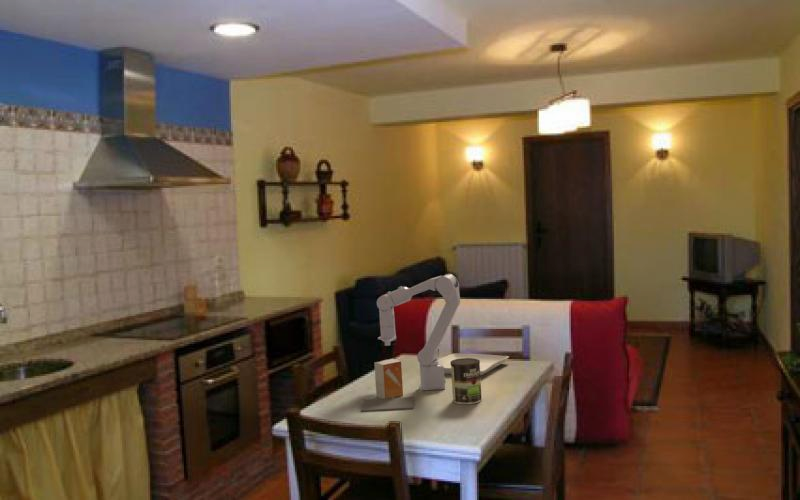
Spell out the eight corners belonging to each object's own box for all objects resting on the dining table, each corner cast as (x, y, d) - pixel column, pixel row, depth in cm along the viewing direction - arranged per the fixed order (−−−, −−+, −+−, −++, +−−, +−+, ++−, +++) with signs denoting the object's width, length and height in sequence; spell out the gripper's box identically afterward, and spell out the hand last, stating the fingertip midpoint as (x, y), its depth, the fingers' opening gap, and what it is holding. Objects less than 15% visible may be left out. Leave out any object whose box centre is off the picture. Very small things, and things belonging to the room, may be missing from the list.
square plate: (510, 364, 306) (510, 355, 306) (483, 380, 282) (483, 370, 282) (453, 360, 320) (452, 351, 320) (423, 375, 296) (422, 366, 296)
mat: (413, 398, 262) (413, 396, 262) (413, 409, 249) (412, 407, 249) (364, 401, 262) (364, 399, 262) (360, 411, 249) (360, 410, 249)
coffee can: (487, 401, 252) (485, 361, 251) (462, 406, 248) (460, 366, 247) (471, 394, 262) (469, 356, 261) (447, 400, 257) (444, 361, 256)
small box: (385, 400, 262) (382, 364, 261) (376, 396, 267) (373, 362, 266) (403, 395, 267) (401, 360, 266) (394, 392, 272) (392, 358, 271)
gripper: (378, 322, 286) (380, 356, 287) (375, 329, 271) (378, 365, 272) (396, 321, 285) (398, 355, 286) (394, 328, 271) (396, 364, 272)
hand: (389, 360), depth 279 cm, fingers closed
